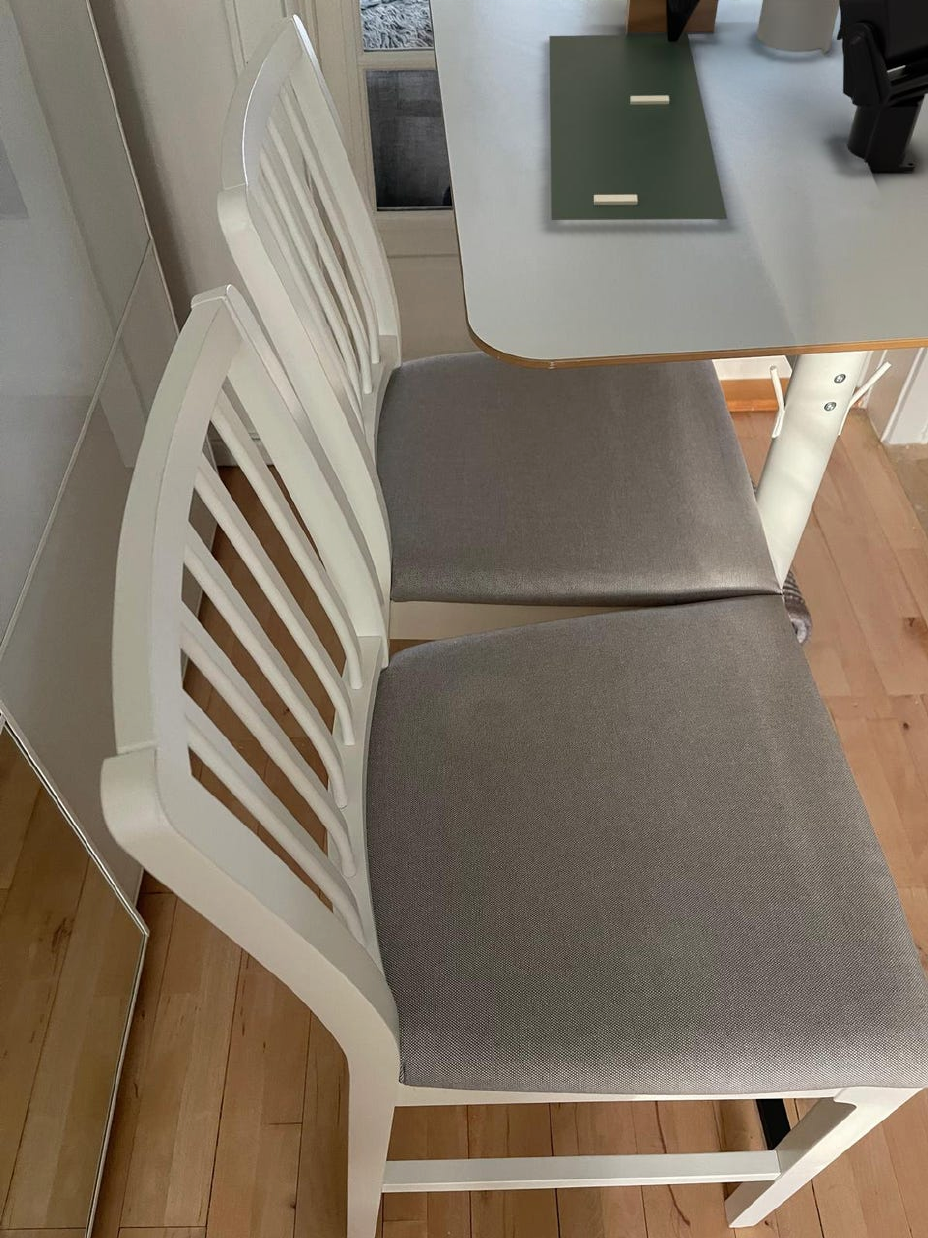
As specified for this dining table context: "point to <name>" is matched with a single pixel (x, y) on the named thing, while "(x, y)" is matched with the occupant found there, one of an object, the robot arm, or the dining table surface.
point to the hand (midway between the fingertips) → (669, 24)
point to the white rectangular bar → (615, 200)
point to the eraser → (651, 17)
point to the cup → (797, 24)
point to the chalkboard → (629, 130)
